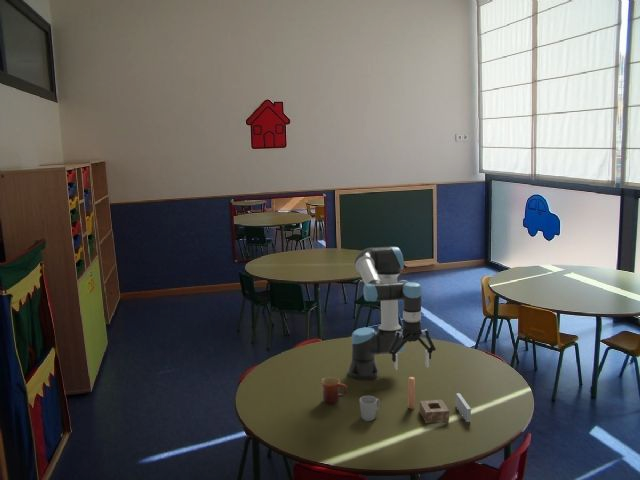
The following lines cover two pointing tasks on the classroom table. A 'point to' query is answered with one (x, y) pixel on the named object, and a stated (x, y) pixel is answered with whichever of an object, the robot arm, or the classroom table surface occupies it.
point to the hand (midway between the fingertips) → (411, 367)
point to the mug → (332, 390)
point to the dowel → (411, 392)
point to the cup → (369, 407)
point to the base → (463, 407)
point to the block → (434, 411)
